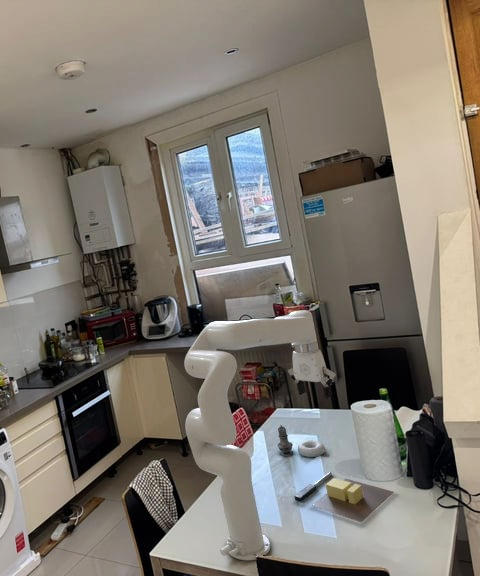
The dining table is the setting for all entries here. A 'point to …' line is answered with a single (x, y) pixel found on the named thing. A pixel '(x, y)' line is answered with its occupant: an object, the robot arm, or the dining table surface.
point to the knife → (310, 489)
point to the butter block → (338, 489)
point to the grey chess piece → (284, 443)
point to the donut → (311, 448)
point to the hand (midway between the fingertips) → (315, 395)
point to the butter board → (361, 508)
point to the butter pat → (355, 493)
